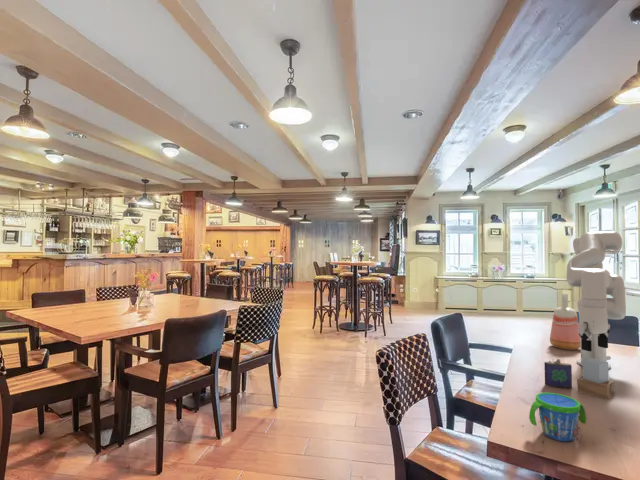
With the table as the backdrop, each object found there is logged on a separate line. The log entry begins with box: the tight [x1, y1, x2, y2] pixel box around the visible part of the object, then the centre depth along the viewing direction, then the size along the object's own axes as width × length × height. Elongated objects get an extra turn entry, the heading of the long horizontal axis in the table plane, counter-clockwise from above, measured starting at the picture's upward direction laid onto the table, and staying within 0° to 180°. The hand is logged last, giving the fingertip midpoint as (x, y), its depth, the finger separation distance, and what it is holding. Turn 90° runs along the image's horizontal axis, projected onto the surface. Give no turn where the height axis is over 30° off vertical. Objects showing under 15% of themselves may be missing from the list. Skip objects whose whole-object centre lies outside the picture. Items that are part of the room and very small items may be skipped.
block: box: [576, 375, 616, 401], centre depth 133 cm, size 9×9×5 cm
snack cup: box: [528, 392, 588, 442], centre depth 101 cm, size 16×10×10 cm
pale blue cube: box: [582, 358, 610, 383], centre depth 133 cm, size 6×6×7 cm
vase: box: [549, 293, 581, 351], centre depth 196 cm, size 14×14×30 cm
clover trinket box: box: [543, 358, 573, 389], centre depth 139 cm, size 9×3×11 cm, turn 74°
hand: (594, 348), depth 134 cm, fingers open, 9 cm apart
